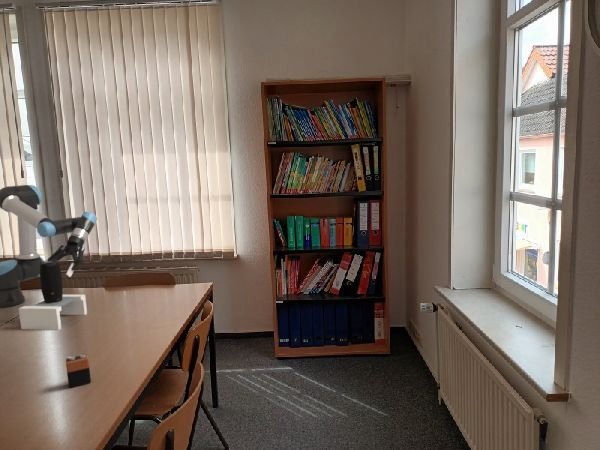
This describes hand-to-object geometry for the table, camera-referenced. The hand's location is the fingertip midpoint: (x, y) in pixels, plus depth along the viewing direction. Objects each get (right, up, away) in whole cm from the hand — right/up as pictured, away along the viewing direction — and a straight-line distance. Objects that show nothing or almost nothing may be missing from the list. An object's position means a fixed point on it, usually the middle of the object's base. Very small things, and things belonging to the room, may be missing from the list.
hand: (57, 275), depth 225 cm
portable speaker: (-1, -13, -1) cm, 13 cm away
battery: (+42, -30, -66) cm, 84 cm away
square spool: (-1, -22, 0) cm, 22 cm away
